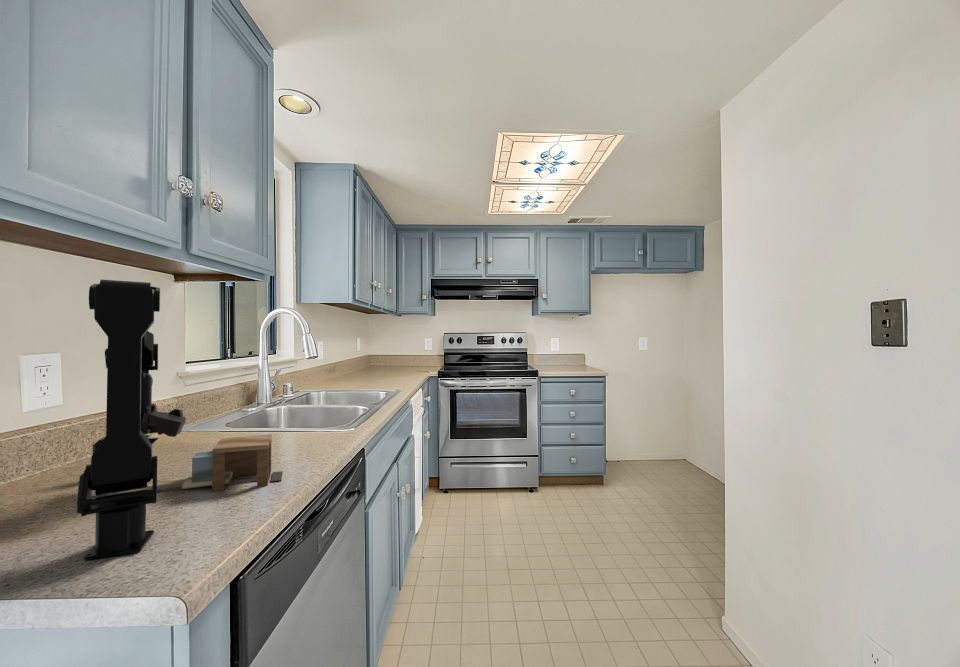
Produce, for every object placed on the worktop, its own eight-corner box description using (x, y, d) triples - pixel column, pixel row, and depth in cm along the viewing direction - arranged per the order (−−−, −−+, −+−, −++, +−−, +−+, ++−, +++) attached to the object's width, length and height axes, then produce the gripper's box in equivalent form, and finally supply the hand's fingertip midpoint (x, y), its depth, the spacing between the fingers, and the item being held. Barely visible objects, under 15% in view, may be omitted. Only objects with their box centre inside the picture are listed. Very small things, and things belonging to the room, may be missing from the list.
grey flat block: (281, 481, 92) (281, 479, 92) (270, 482, 91) (270, 480, 91) (282, 472, 98) (282, 471, 98) (272, 473, 97) (272, 472, 97)
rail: (269, 479, 93) (269, 477, 93) (81, 500, 81) (81, 496, 81) (269, 476, 95) (269, 473, 95) (87, 495, 83) (87, 492, 83)
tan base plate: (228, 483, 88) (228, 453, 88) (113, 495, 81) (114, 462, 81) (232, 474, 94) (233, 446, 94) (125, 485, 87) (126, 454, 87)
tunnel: (267, 485, 89) (268, 444, 89) (212, 491, 86) (212, 449, 86) (271, 471, 99) (271, 434, 99) (221, 476, 95) (221, 438, 95)
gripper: (167, 405, 79) (166, 490, 79) (193, 393, 96) (192, 462, 96) (91, 409, 75) (90, 498, 75) (132, 395, 92) (131, 467, 92)
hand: (132, 479), depth 85 cm, fingers closed on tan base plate, 3 cm apart
